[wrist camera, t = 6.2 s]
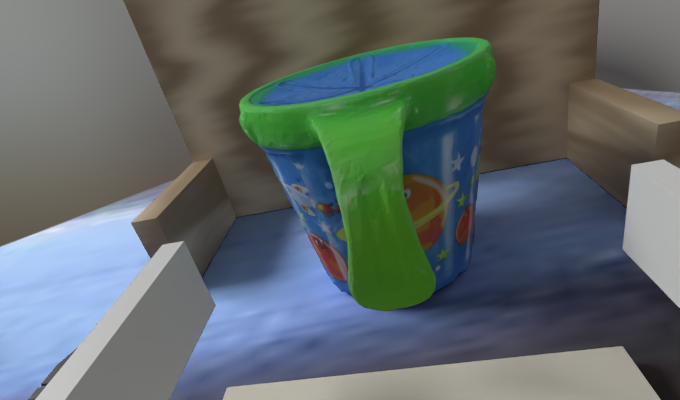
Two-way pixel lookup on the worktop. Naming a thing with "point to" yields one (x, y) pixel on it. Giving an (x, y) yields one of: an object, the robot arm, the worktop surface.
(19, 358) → the worktop surface
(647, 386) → the paving slab
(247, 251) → the worktop surface
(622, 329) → the worktop surface
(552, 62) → the tan tall piece
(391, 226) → the snack cup
